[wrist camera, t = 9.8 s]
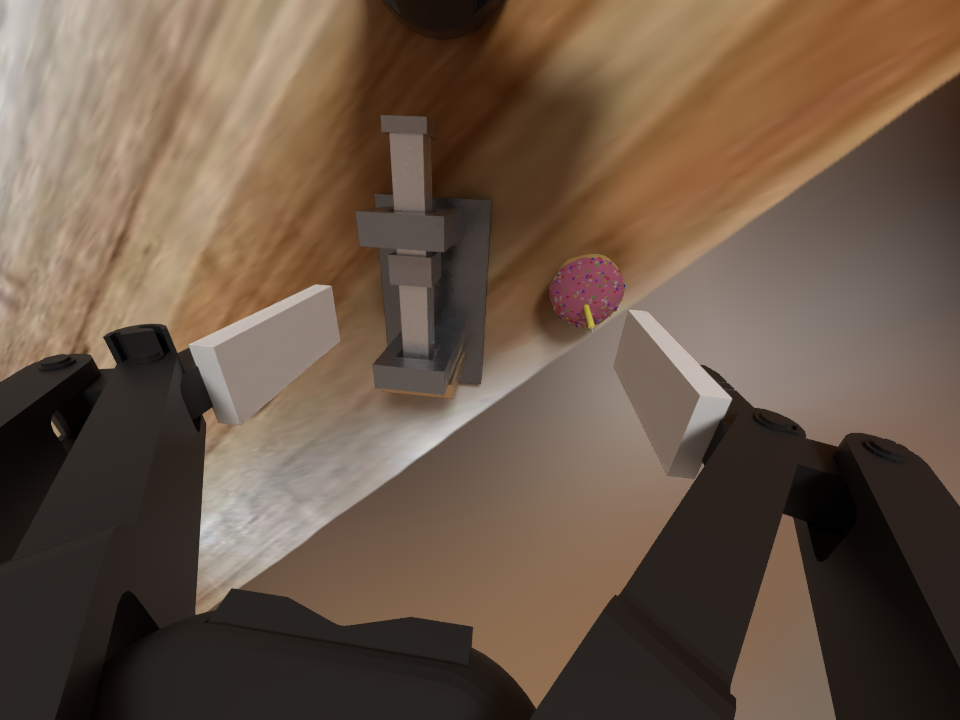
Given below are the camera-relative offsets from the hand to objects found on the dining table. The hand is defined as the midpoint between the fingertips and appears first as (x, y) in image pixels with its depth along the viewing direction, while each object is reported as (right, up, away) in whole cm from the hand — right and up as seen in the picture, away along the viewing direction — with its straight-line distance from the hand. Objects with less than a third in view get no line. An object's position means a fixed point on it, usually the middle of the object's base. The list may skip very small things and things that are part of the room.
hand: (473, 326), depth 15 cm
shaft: (-6, +10, +23) cm, 26 cm away
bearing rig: (-6, +7, +32) cm, 33 cm away
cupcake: (+13, +9, +29) cm, 33 cm away
